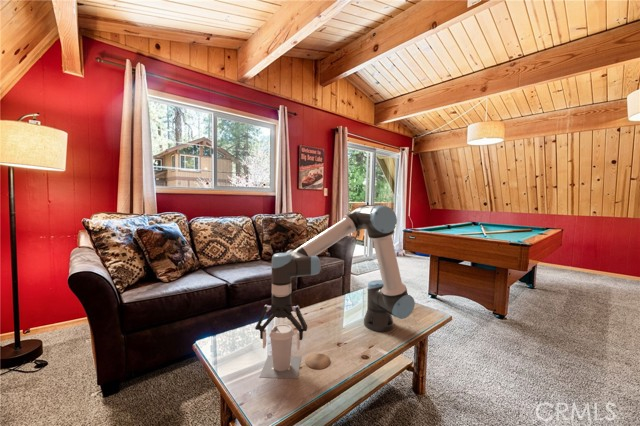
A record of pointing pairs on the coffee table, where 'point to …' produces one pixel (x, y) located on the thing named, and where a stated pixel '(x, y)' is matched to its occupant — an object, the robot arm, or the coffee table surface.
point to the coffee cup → (281, 346)
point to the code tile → (289, 373)
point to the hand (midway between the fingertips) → (281, 347)
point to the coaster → (317, 361)
